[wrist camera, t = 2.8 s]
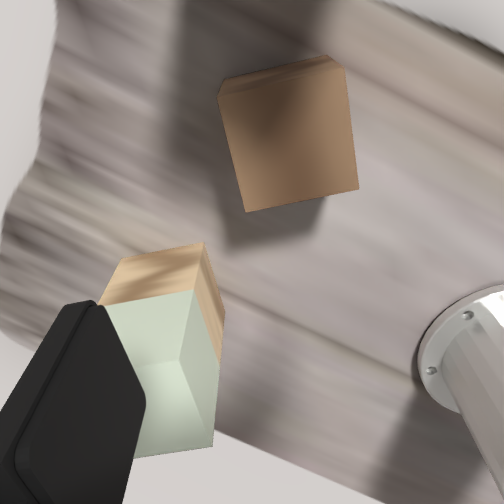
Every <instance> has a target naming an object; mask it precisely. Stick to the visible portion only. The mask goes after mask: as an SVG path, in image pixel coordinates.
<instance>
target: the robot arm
mask: <svg viewBox="0 0 504 504" xmlns="http://www.w3.org/2000/svg"><path fill="white" fill-rule="evenodd" d="M418 370H419V374H420V378H421V380H422V382H423V384H424V386H425V388H426V390H427V392H428V393H429V394H430V396H431V397H432V398H433V399H434V400H435V401H436V402H438V403H439V404H440V405H441V406H443V407H445V408H447V409H449V410H451V411H453V412H456V413H459V414H461V415H462V417H463V419H464V421H465V423H466V425H467V427H468V429H469V431H470V433H471V435H472V437H473V439H474V441H475V443H476V445H477V447H478V449H479V451H480V453H481V455H482V457H483V459H484V461H485V463H486V465H487V467H488V469H489V471H490V473H491V475H492V477H493V479H494V481H495V483H496V485H497V487H498V489H499V491H500V493H501V495H502V497H503V499H504V284H502V285H497V286H492V287H489V288H486V289H483V290H480V291H477V292H475V293H473V294H471V295H469V296H467V297H465V298H463V299H461V300H459V301H458V302H456V303H455V304H453V305H452V306H451V307H449V308H448V309H446V310H445V311H444V312H443V313H442V314H441V315H440V316H439V317H438V318H437V319H436V320H435V321H434V322H433V324H432V325H431V326H430V328H429V329H428V330H427V332H426V334H425V336H424V338H423V340H422V342H421V344H420V348H419V352H418ZM145 410H146V396H145V392H144V390H143V388H142V386H141V383H140V381H139V379H138V377H137V375H136V373H135V371H134V368H133V366H132V364H131V362H130V360H129V358H128V355H127V353H126V351H125V349H124V347H123V345H122V342H121V340H120V338H119V336H118V334H117V332H116V330H115V327H114V325H113V323H112V321H111V319H110V317H109V314H108V312H107V310H106V309H105V307H104V306H103V305H97V304H96V303H95V302H94V301H92V300H88V301H83V302H77V303H72V304H67V305H65V306H64V307H63V308H62V309H61V311H60V313H59V314H58V316H57V318H56V319H55V321H54V323H53V324H52V326H51V328H50V329H49V331H48V333H47V334H46V336H45V338H44V339H43V341H42V343H41V344H40V346H39V348H38V349H37V351H36V353H35V355H34V356H33V358H32V359H31V361H30V363H29V365H28V366H27V368H26V369H25V371H24V373H23V374H22V376H21V378H20V379H19V381H18V383H17V384H16V386H15V388H14V390H13V391H12V393H11V394H10V396H9V398H8V399H7V401H6V403H5V405H4V406H3V408H2V409H1V411H0V504H122V502H123V498H124V494H125V490H126V486H127V482H128V478H129V474H130V470H131V466H132V462H133V458H134V454H135V450H136V446H137V442H138V438H139V434H140V430H141V426H142V422H143V418H144V414H145Z"/></svg>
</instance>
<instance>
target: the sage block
mask: <svg viewBox="0 0 504 504" xmlns="http://www.w3.org/2000/svg"><path fill="white" fill-rule="evenodd" d="M104 307H105V309H106V310H107V312H108V314H109V317H110V319H111V321H112V323H113V325H114V327H115V330H116V332H117V334H118V336H119V338H120V340H121V342H122V345H123V347H124V349H125V351H126V353H127V355H128V358H129V360H130V362H131V364H132V366H133V368H134V371H135V373H136V375H137V377H138V379H139V381H140V383H141V386H142V388H143V390H144V392H145V396H146V410H145V414H144V418H143V422H142V426H141V430H140V434H139V438H138V442H137V446H136V450H135V454H134V458H140V457H146V456H154V455H160V454H167V453H174V452H180V451H187V450H193V449H200V448H207V447H212V445H213V444H212V443H213V434H214V424H215V413H216V403H217V392H218V382H219V371H220V366H219V363H218V360H217V357H216V354H215V351H214V348H213V345H212V342H211V339H210V336H209V333H208V330H207V327H206V324H205V321H204V318H203V315H202V312H201V309H200V306H199V303H198V300H197V297H196V294H195V291H194V289H193V290H187V291H182V292H177V293H171V294H166V295H161V296H156V297H150V298H145V299H140V300H134V301H129V302H124V303H119V304H113V305H108V306H104ZM134 458H133V459H134Z"/></svg>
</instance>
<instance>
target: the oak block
mask: <svg viewBox="0 0 504 504" xmlns="http://www.w3.org/2000/svg"><path fill="white" fill-rule="evenodd" d="M193 289H194V291H195V294H196V297H197V300H198V303H199V306H200V309H201V312H202V315H203V318H204V321H205V324H206V327H207V330H208V333H209V336H210V339H211V342H212V345H213V348H214V351H215V354H216V357H217V360H218V363H219V366H220V360H221V350H222V339H223V329H224V318H225V310H224V306H223V303H222V300H221V297H220V293H219V290H218V287H217V284H216V280H215V277H214V274H213V271H212V267H211V264H210V261H209V257H208V254H207V251H206V248H205V244H204V242H202V243H197V244H192V245H187V246H182V247H177V248H172V249H167V250H162V251H157V252H152V253H147V254H142V255H137V256H132V257H127V258H122V259H121V261H120V263H119V265H118V266H117V268H116V270H115V272H114V274H113V276H112V278H111V280H110V282H109V284H108V286H107V288H106V289H105V291H104V293H103V295H102V297H101V299H100V301H99V303H98V305H103V306H108V305H113V304H119V303H124V302H129V301H134V300H140V299H145V298H150V297H156V296H161V295H166V294H171V293H177V292H182V291H187V290H193Z"/></svg>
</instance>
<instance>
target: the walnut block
mask: <svg viewBox="0 0 504 504" xmlns="http://www.w3.org/2000/svg"><path fill="white" fill-rule="evenodd" d="M217 101H218V105H219V109H220V113H221V117H222V121H223V125H224V129H225V133H226V137H227V141H228V145H229V149H230V153H231V157H232V161H233V165H234V169H235V173H236V177H237V181H238V185H239V189H240V192H241V196H242V200H243V204H244V208H245V212H251V211H256V210H261V209H266V208H270V207H275V206H280V205H285V204H290V203H295V202H300V201H304V200H309V199H314V198H319V197H324V196H329V195H334V194H338V193H343V192H348V191H353V190H358V189H359V183H358V175H357V166H356V158H355V150H354V142H353V134H352V126H351V118H350V109H349V101H348V93H347V85H346V77H345V69H344V67H343V66H342V65H340V64H339V63H338V62H336V61H335V60H333V59H332V58H330V57H329V56H328V55H324V56H319V57H315V58H311V59H307V60H303V61H299V62H294V63H290V64H286V65H282V66H278V67H274V68H269V69H265V70H261V71H257V72H253V73H249V74H244V75H240V76H236V77H232V78H228V79H224V81H223V83H222V86H221V88H220V90H219V93H218V95H217Z"/></svg>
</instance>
